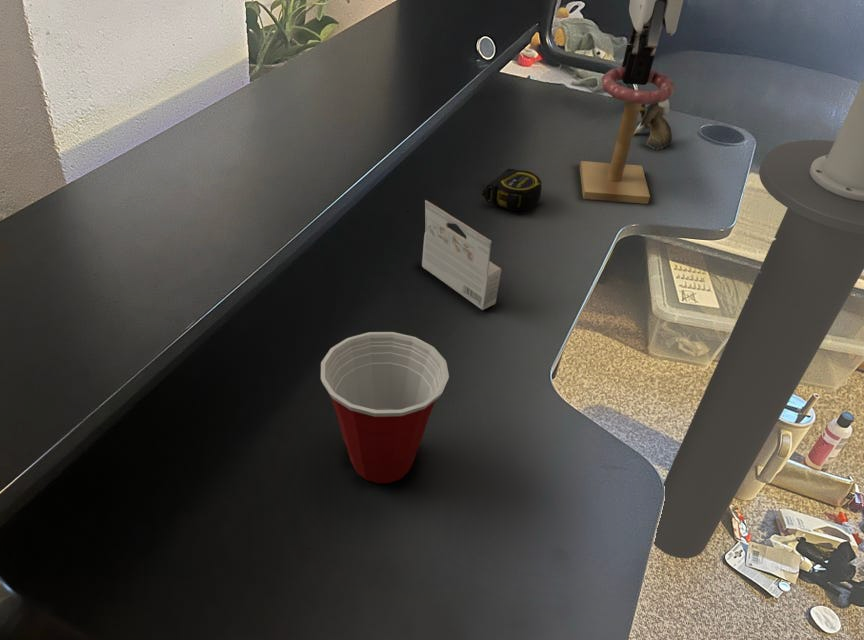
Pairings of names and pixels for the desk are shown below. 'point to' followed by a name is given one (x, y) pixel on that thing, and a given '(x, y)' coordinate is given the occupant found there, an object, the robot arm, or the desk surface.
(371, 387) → the plastic cup
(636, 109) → the stand
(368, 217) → the desk surface
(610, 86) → the ring
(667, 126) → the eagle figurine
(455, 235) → the ink cartridge box
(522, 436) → the desk surface
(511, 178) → the tape measure
